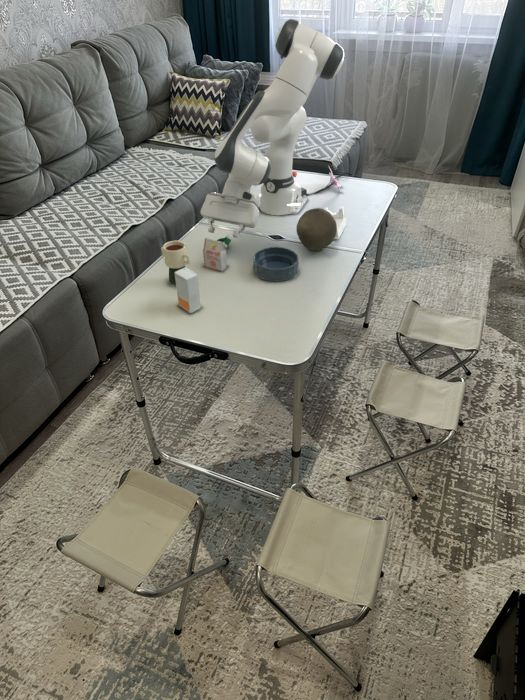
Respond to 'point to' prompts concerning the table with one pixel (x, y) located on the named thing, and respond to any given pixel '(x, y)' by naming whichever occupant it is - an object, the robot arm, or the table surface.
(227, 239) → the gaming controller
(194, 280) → the cosmetic box
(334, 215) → the bracket
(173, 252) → the character mug
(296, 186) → the robot arm
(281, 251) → the bowl
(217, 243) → the white printed carton
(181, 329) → the table surface
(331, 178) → the lily
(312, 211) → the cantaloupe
